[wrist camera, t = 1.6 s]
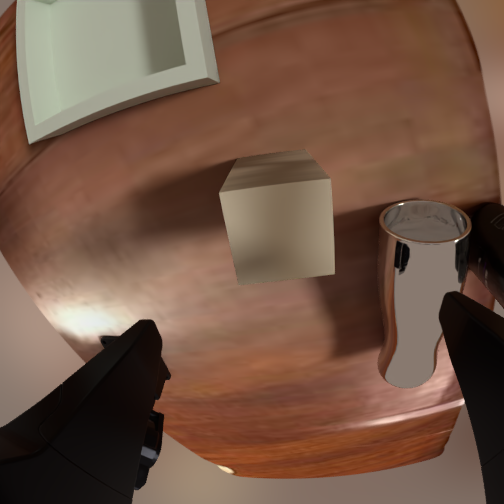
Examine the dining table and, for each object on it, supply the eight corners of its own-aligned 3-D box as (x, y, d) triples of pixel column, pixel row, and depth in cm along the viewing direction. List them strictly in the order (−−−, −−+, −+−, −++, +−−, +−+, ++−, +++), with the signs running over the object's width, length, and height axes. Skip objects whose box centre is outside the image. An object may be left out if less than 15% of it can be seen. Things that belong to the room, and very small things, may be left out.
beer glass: (451, 376, 20) (494, 230, 13) (386, 403, 21) (407, 257, 13) (422, 328, 26) (436, 192, 19) (363, 348, 27) (360, 208, 20)
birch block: (248, 220, 21) (238, 285, 14) (237, 158, 19) (218, 192, 12) (311, 212, 20) (334, 274, 13) (305, 149, 18) (330, 178, 11)
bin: (61, 134, 18) (29, 144, 14) (47, 3, 12) (17, -4, 8) (219, 82, 16) (207, 77, 13) (193, -62, 10) (180, -87, 7)
